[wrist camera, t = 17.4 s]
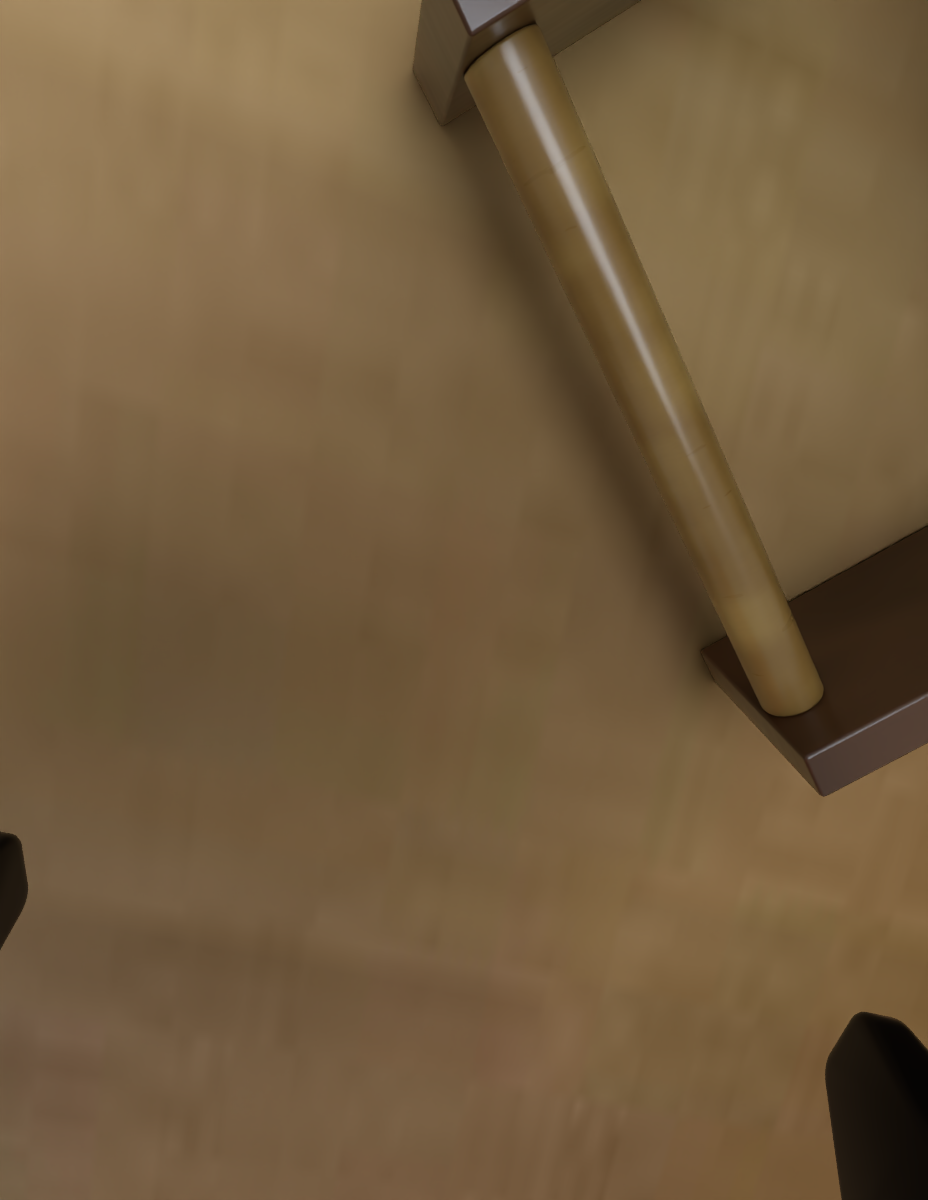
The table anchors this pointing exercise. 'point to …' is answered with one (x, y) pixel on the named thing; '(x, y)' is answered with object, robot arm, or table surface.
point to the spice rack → (687, 415)
